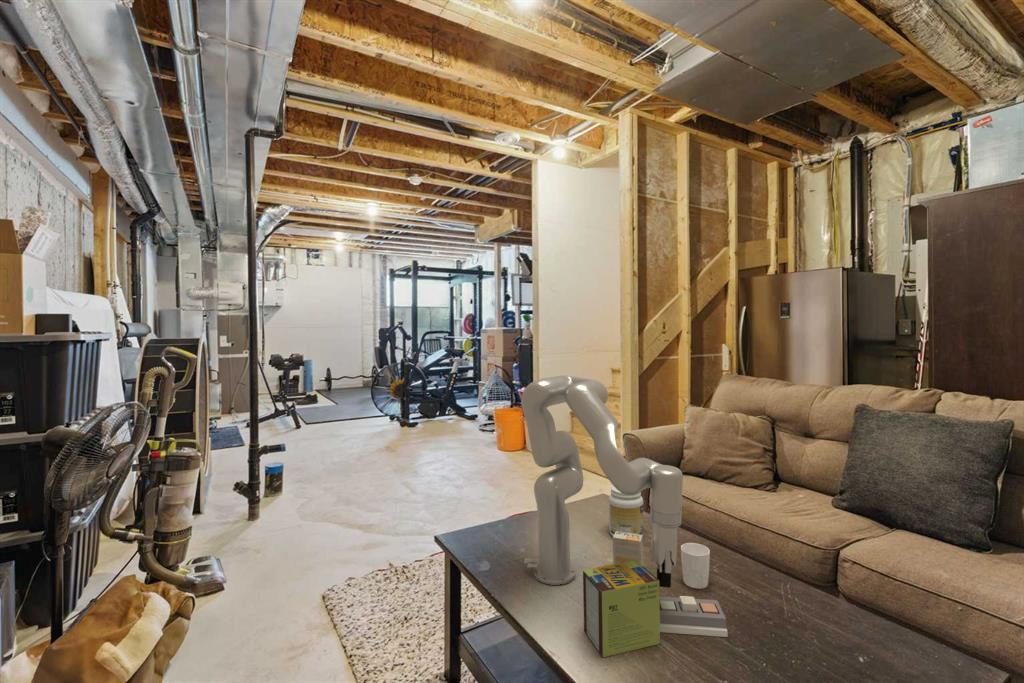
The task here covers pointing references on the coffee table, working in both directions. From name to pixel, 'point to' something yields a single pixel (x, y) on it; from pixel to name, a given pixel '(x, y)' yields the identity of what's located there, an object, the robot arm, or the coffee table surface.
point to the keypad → (693, 620)
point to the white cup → (695, 565)
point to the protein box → (621, 607)
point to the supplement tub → (625, 513)
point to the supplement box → (627, 547)
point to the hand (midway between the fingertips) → (663, 585)
